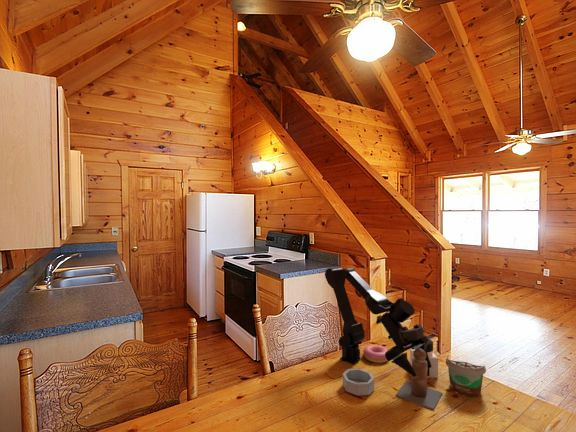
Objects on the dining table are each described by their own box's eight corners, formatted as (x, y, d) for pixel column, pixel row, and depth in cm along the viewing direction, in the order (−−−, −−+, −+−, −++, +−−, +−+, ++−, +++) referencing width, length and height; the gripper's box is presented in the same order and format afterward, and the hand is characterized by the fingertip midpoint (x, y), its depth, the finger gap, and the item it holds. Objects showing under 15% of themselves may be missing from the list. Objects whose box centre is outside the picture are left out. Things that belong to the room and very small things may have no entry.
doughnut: (376, 367, 125) (376, 356, 124) (357, 355, 134) (357, 346, 134) (395, 360, 130) (395, 350, 130) (376, 350, 139) (376, 341, 139)
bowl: (338, 389, 109) (338, 377, 109) (352, 376, 117) (352, 365, 117) (365, 400, 103) (365, 387, 103) (377, 386, 111) (377, 374, 111)
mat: (395, 395, 105) (395, 394, 105) (406, 381, 114) (406, 380, 114) (433, 410, 98) (433, 408, 98) (442, 394, 106) (442, 392, 106)
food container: (445, 393, 107) (445, 364, 106) (445, 384, 112) (445, 356, 112) (487, 403, 101) (487, 372, 101) (485, 393, 106) (486, 364, 106)
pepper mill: (410, 395, 104) (411, 350, 104) (411, 387, 109) (412, 344, 108) (426, 399, 102) (427, 353, 102) (426, 391, 107) (427, 347, 106)
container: (438, 378, 116) (438, 343, 116) (417, 378, 116) (417, 343, 116) (429, 367, 124) (429, 335, 123) (409, 367, 124) (409, 335, 123)
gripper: (392, 323, 103) (423, 370, 94) (423, 312, 114) (454, 353, 105) (373, 339, 109) (400, 384, 101) (404, 327, 120) (431, 367, 112)
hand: (423, 371), depth 104 cm, fingers open, 9 cm apart
